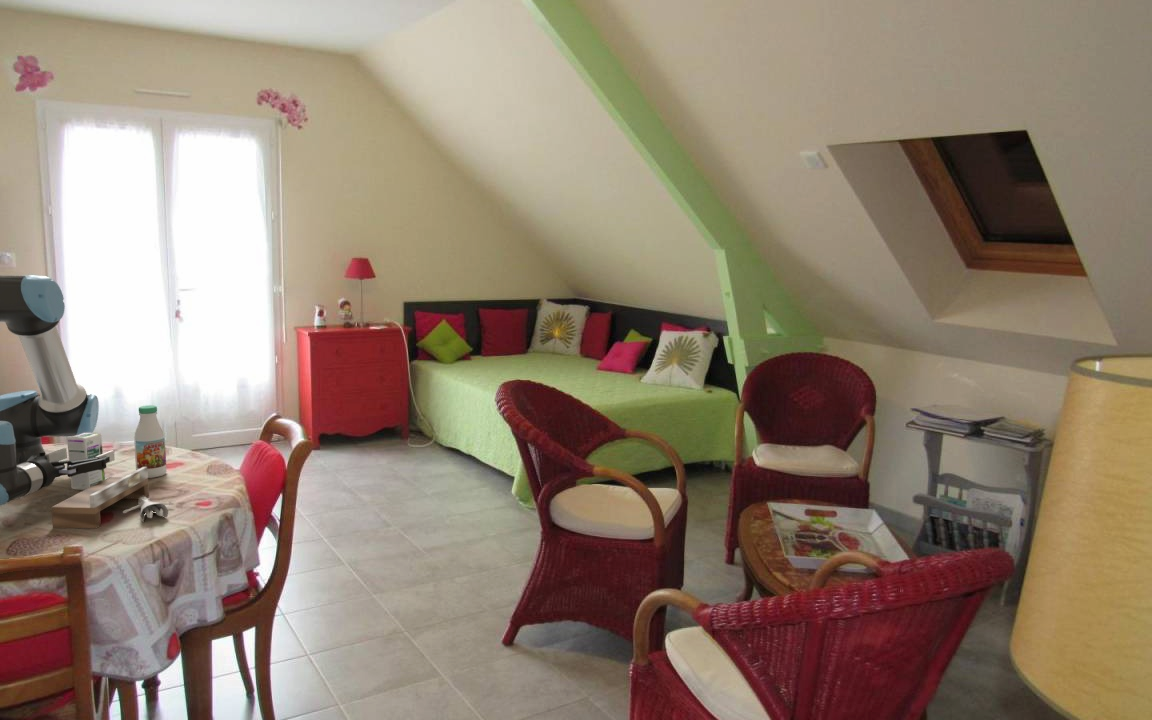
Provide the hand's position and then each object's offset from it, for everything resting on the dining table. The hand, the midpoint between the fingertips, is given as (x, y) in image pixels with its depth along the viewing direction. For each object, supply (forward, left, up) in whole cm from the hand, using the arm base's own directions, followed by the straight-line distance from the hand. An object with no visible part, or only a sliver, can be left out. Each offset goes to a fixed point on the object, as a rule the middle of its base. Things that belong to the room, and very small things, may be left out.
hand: (89, 454), depth 217 cm
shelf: (+20, +15, -9) cm, 26 cm away
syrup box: (+1, 0, -9) cm, 9 cm away
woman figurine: (+21, +27, -10) cm, 35 cm away
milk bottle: (-11, +11, -9) cm, 18 cm away
